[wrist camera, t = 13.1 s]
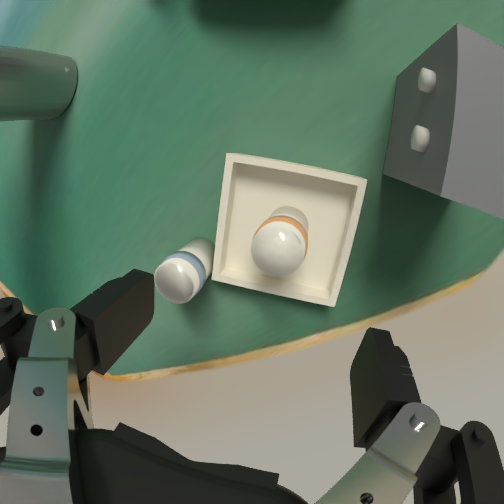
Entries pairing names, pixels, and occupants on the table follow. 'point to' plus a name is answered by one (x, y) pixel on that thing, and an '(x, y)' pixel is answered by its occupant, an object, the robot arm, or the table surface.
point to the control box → (452, 122)
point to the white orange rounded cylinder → (281, 242)
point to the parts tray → (294, 195)
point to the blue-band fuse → (185, 271)
